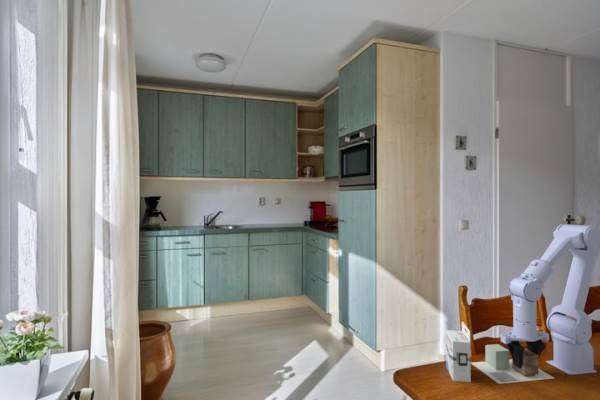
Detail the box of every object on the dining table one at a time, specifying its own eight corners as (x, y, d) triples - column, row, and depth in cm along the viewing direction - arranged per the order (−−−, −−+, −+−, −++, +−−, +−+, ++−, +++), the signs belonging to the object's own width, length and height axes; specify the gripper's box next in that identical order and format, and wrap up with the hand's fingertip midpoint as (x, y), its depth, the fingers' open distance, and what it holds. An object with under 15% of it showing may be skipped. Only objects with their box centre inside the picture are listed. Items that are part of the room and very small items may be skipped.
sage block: (498, 361, 104) (498, 344, 104) (509, 368, 99) (509, 350, 99) (485, 362, 103) (485, 345, 103) (496, 369, 99) (496, 351, 99)
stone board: (520, 359, 106) (520, 358, 106) (555, 379, 94) (555, 378, 94) (470, 364, 103) (470, 362, 103) (498, 385, 91) (498, 383, 91)
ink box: (445, 367, 101) (445, 319, 101) (462, 368, 100) (462, 320, 100) (452, 382, 93) (452, 330, 93) (471, 384, 92) (471, 331, 92)
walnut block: (525, 366, 100) (525, 348, 100) (538, 374, 95) (538, 355, 95) (512, 367, 99) (512, 349, 99) (524, 375, 95) (524, 356, 95)
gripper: (534, 313, 102) (535, 357, 102) (492, 316, 100) (493, 361, 100) (555, 321, 95) (556, 368, 95) (510, 325, 93) (511, 373, 93)
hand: (525, 365), depth 97 cm, fingers closed on walnut block, 4 cm apart
